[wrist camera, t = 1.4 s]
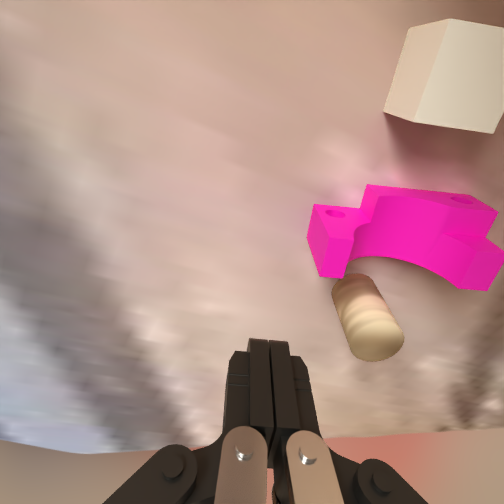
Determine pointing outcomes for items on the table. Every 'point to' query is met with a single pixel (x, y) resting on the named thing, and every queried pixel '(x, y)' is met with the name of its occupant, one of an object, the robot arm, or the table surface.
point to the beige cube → (450, 76)
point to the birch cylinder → (366, 318)
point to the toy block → (409, 234)
